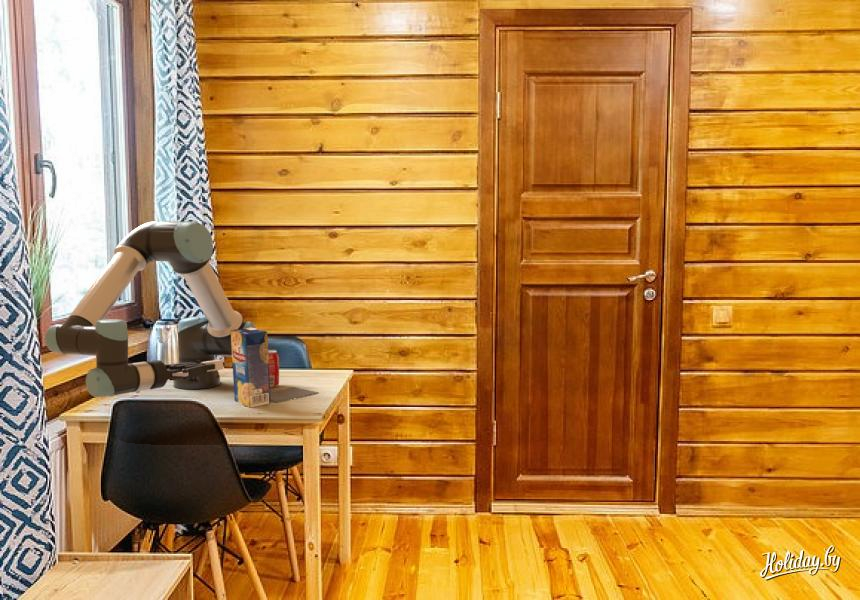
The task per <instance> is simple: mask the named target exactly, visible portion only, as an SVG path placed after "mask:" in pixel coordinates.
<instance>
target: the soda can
mask: <svg viewBox="0 0 860 600" xmlns="http://www.w3.org/2000/svg"><path fill="white" fill-rule="evenodd" d="M268 359H269V379H270V389H273V388H276V387H278V386H279V383H280V357H279V354H278V351H277V350H276V349H268Z"/></svg>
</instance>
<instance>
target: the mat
mask: <svg viewBox="0 0 860 600" xmlns="http://www.w3.org/2000/svg"><path fill="white" fill-rule="evenodd" d="M316 393H318V394H319V393H320V392H318V391H314V390H308V389H304V388H299V387H288V388H283V389H278V390H274V391H270V399H271V401H272V402H271V403H275V402H276V404H278V402H279V403H283V402H287V401H291V400H290V399H292V400H295V399H294V398H296V399H300V398H299V397H301V398H304V397H303V396H305V397H308V396H307V395H309V396H313V395H312V394H314V395H317V394H316ZM282 401H283V402H282Z"/></svg>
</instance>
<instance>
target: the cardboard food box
mask: <svg viewBox="0 0 860 600" xmlns="http://www.w3.org/2000/svg"><path fill="white" fill-rule="evenodd" d="M268 342H269V341H268V331H266V330H262V329H259V328H256V329H255V328H252V327H251V328H243V329H236V330H231V346H232V357H231V361H232V376H233V377H232V379H233V394H234V401H235V402H237V403H239V404H241V405H243V404H244V406H245V405H246V406H245V407H248V408H254V407H259V406H264V405H270V404H271V403H272V402H271V399H270V392H271V388H270V379H269V359H268V350H269V343H268Z"/></svg>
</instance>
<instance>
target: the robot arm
mask: <svg viewBox="0 0 860 600" xmlns="http://www.w3.org/2000/svg"><path fill="white" fill-rule="evenodd" d="M212 243H213V237H212V235H211V233H210V231H209V230H208V228H207V227H206V225H205V226H204V224H202V223H200V222H193V221H189V220H185V221H159V220H158V221H156V220H155V221H149V222H146V223H143V224H141V225H139V226H138V227H136V228H134V229H133V230H132V231H131V232H129V233H128V234H127V235H126V236H124V238H123V239H122V240H121V241H120V242H119V243H118V244H117V246H116V247H115V248H114V250H113V257H112V258H111V260H110V261H109V262H108V263H107V266H105V268H104V269H103V271H102V272H101V273H100V274H99V276H98V277H97V279H96V280H95V281H94V282H93V284H92V285H91V286H90V288H89V290H87V292H86V293H85V295H84V296H83V297H82V299H81V300H80V301H79V302H78V303H77V305H76V307H75V308H74V309H73V311H72V312H71V313H70V315H69V316H68V317H67V319H66V320H65V321H64V322H63V323H58V324H57V323H56V324H53V325H52V326H49V327H48V329H47V330H46V331H45V336H44V342H45V346H46V347H47V349H48V350H49V351H50V352H52V353H56V354H62V355H77V356H78V355H79V356H81V355H82V356H83V355H84V356H93V357H95V358H96V359H95V360H96V361H95V363H96V365H95V366H96V367H94V368H92V369H89V370H88V372H87V374H86V377H85V385H86V389H87V391H88V393H89V394H90V395H91V396H92V397H94V398H105V397H114V396H118V395H119V396H120V395H125V394H129V393H135V394H140V392H141V391H148V390H156V389H161V388H163V387H164V386H165V385H166V384H167V382H168V381H172V382H173V383H172V386H173V387H174V388H177V389H185V390H200V389H202V390H203V389H208V388H209V389H210V388H215V387H218V386H219V385H220V384H221V375H220V372H219V371H221V370H224V361H223V359H215V357H216V356H221V357H229V358H230V357H231V358H232V346H231V330H236V329H243V328H251V327H252V328H255V329H257V327H256V325H255V323H254V322H251V321H245V320H244V317H243V316H242V314H241V313H240V312H239V311H237V310H234V308H233V306H232V304H231V303H230V301H229V299H228V297H227V295H226V293H225V291H224V289H223V287H222V284H221V283H220V281H219V279H218V277H217V275H216V273H215V271H214V269H213V268H212V266H211V264H210V261H211V258H212V255H213V249H214V245H213V244H212ZM152 262H169V264H170V266H171V267H172V270H173V271H174V273H176V274H178V275H182V277H183V279H184V280H185V282H186V284H187V286H188V287H189V289H190V291H191V293H192V295H193V296H194V298H195V300H196V302H197V303H198V306H199V307H200V310H201V311H202V314H203V315H202V316H200V315H198V316H192V317H185V318H181V319H180V320H179V321H178V323H177V332H176V333H177V354H178V357H177V358H178V360H177V361H178V363H166V364H165V363H164V362H163V361H162V360H159V359H156V360H148V361H140V362H133V363H132V362H131V363H129V334H128V324H127V321H125V320H124V319H120V318H119V319H117V318H113V319H111V318H108V319H107V318H106V317H107V315H108V314H109V313H110V312H111V310H112V309H113V307H114V306H115V304H116V303H117V302H118V300H119V299H120V297H121V296H122V294H123V293H124V292H125V290H126V289H127V287H128V286H129V285H130V283H131V282H132V281H133V279H134V278H135V276H136V275H137V273H138V272H140V271H143V270H144V269H146V267H147V266H148V264H150V263H152Z"/></svg>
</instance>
